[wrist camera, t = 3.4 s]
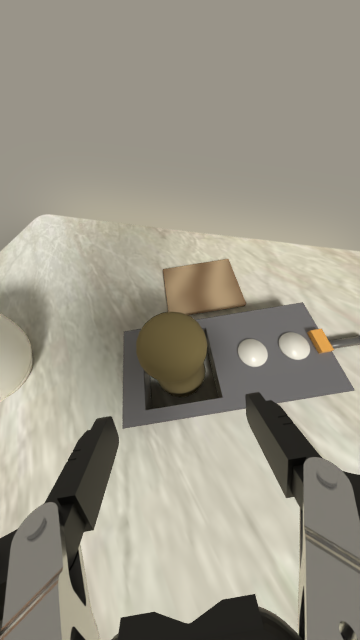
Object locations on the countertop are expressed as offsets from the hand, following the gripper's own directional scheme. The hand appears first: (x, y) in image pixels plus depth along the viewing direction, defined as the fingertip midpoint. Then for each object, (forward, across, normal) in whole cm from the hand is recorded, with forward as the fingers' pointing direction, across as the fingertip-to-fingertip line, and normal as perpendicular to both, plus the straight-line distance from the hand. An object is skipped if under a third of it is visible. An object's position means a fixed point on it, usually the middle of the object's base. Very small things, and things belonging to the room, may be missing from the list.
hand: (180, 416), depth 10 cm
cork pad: (+18, -5, -5) cm, 20 cm away
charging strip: (+10, -9, +4) cm, 14 cm away
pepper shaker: (+10, 0, +4) cm, 11 cm away
